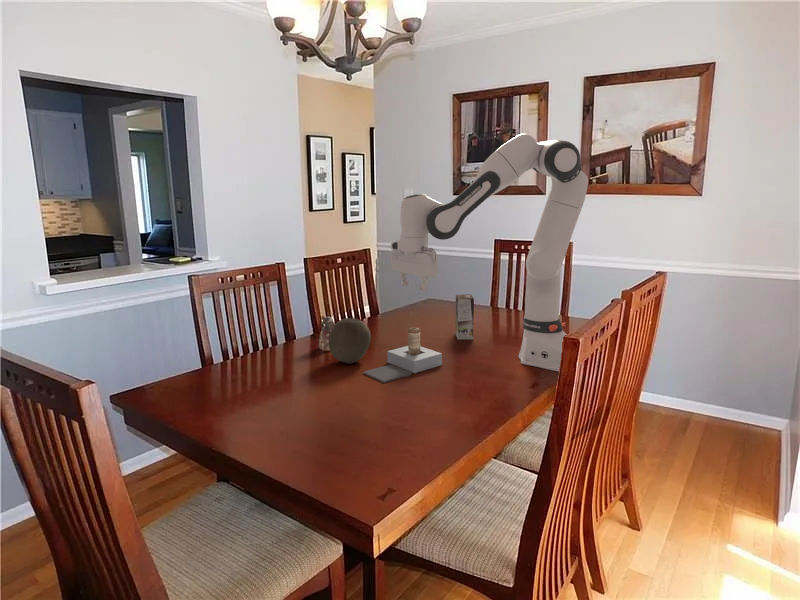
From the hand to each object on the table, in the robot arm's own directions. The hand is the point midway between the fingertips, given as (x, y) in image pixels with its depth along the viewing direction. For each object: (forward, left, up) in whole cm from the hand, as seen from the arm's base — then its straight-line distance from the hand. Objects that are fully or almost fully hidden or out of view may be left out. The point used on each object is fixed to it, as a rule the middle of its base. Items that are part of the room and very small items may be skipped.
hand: (414, 287), depth 175 cm
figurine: (+35, +12, -26) cm, 45 cm away
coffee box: (+12, -36, -26) cm, 46 cm away
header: (0, 0, -26) cm, 26 cm away
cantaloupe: (+16, +15, -26) cm, 34 cm away
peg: (0, 0, -26) cm, 26 cm away
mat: (-2, +13, -26) cm, 29 cm away
